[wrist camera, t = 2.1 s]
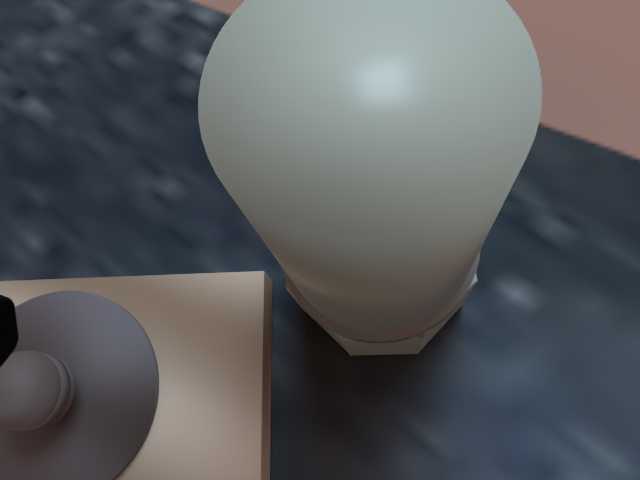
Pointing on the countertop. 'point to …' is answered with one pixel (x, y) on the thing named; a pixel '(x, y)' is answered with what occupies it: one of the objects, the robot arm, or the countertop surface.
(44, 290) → the mounting board
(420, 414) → the countertop surface
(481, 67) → the light bulb
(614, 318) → the countertop surface
